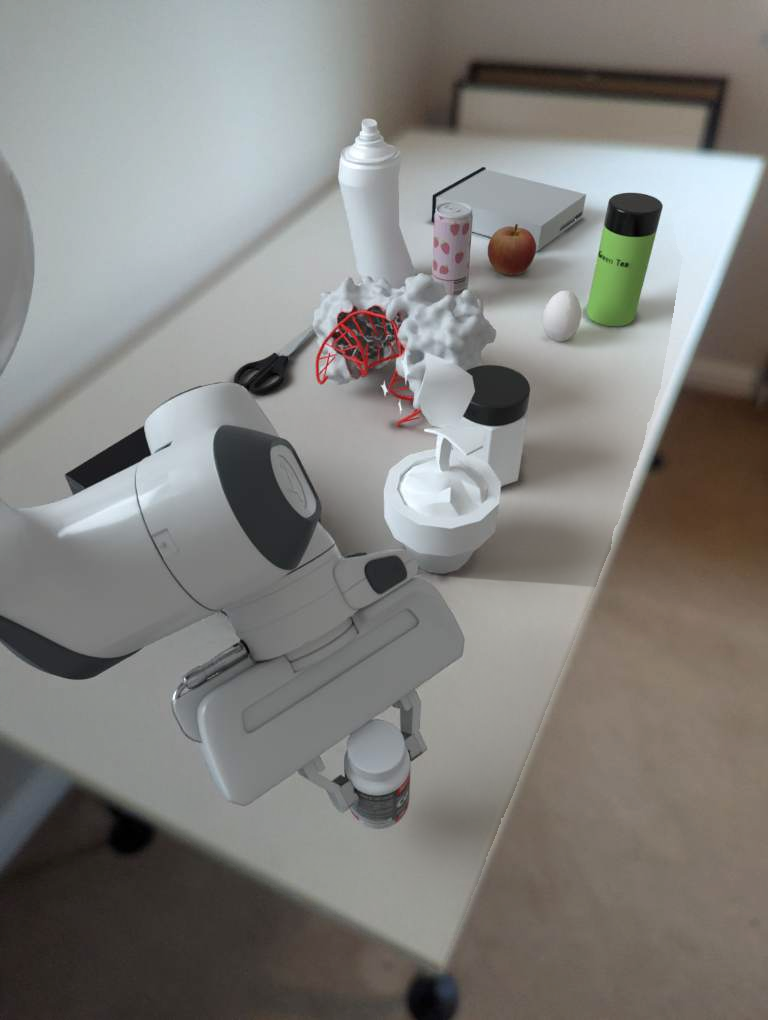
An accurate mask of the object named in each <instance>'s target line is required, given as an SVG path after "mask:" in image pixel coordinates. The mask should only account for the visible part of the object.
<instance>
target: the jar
mask: <svg viewBox="0 0 768 1020" xmlns="http://www.w3.org/2000/svg"><path fill="white" fill-rule="evenodd" d="M466 372H467V373H469V374H470V375H472V378H473V383H474V389H475V393H474V395H473V397H472V399H471V401H470V403H469V405H468V407H467V409H466V411H465V413H464V415H463V416H462V418H461V420H460V422H459V423H458V425H455V426H452V427H482V428H483V430H484V432H485V440H484V444H483V448H481V449H479V450H477V451H476V452H474V453H472V454H470V455H472V456H474V457H476V458H478V459H480V460H482V461H484V462H486V463H488V464H489V466H490V467H491V468H492V470H493V471H494V473H495V474H496V476H497V477H498V479H499V480H500V482H501V487H504V486H506V485H509V484H512V483H515V482H517V481H518V480H519V477H520V476H519V475H520V469H521V463H522V456H523V449H524V444H525V437H526V431H527V425H528V408H529V402H530V397H531V385H530V382H529V380H528V379H527V378H526V377H525V376H524V375H523V374H522V373H520V372H519V371H517V370H515V369H513V368H510V367H507V366H503V365H498V364H497V365H495V364H485V365H484V364H482V366H477V367H473V368H471V369H468V370H466ZM451 450H455V451H460V450H459V449H458V448H456V447H455V446H454V445H453V444H452V447H451Z"/></svg>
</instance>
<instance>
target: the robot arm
mask: <svg viewBox="0 0 768 1020" xmlns="http://www.w3.org/2000/svg"><path fill="white" fill-rule="evenodd" d="M16 175H17V174H15V172H14V170H13V169H12V167H11V165H10V163H9V162H8V160H7V158H6V157H5V155H4V154H3V153H2V151H1V150H0V378H1V377H2V375H4V372H5V370H6V368H7V366H8V364H9V362H10V360H11V359H12V357H13V355H14V352H15V350H16V349H17V345H18V343H19V341H20V338H21V335H22V333H23V330H24V327H25V324H26V321H27V317H28V314H29V309H30V304H31V300H32V295H33V289H34V282H35V272H36V271H35V270H36V269H35V267H36V265H35V264H36V262H35V261H36V259H35V254H36V253H35V239H34V231H33V226H32V221H31V217H30V214H29V213H30V212H29V208H28V205H27V201H26V198H25V195H24V191H23V188H22V185H21V183H20V181H19V179H18V177H17V176H16ZM143 426H144V430H145V435H146V439H147V443H148V446H149V449H150V452H151V455H150V456H148V457H146V458H144V459H143V460H142V461H141V462H139V463H137V464H135V465H133V466H131V467H129V468H127V469H125V470H123V471H121V472H119V473H117V474H115V475H113V476H111V477H109V478H107V479H105V480H103V481H101V482H99V483H97V484H95V485H93V486H91V487H89V488H87V489H85V490H83V491H81V492H79V493H77V494H75V495H73V494H72V495H71V496H68V497H65V498H63V499H60V500H56V501H53V502H51V503H46V504H42V505H41V504H40V505H37V506H31V507H30V506H29V507H13V506H11V505H9V504H8V503H7V502H6V501H5V500H3V499H2V498H1V497H0V643H1V644H2V645H3V646H4V647H5V648H6V649H7V650H8V651H9V652H11V653H12V654H13V655H14V656H16V657H17V658H18V659H20V660H21V661H23V662H24V663H26V664H27V665H29V666H31V667H32V668H35V669H37V670H39V671H41V672H43V673H46V674H49V675H52V676H56V677H60V678H62V679H67V680H72V681H83V680H89V679H93V678H94V677H97V676H99V675H101V674H102V673H104V672H106V671H108V670H109V669H111V668H113V667H115V666H117V665H118V664H119V663H121V662H123V661H125V660H127V659H129V658H131V657H132V656H133V655H136V654H137V653H139V652H140V651H141V650H143V649H144V648H145V647H148V646H149V645H152V644H154V643H156V642H158V641H160V640H162V639H164V638H166V637H168V636H171V635H172V634H174V633H177V632H179V631H181V630H183V629H185V628H187V627H189V626H191V625H193V624H196V623H198V622H199V621H202V620H205V619H206V618H208V617H210V616H212V615H215V614H216V613H220V611H221V610H222V609H224V610H225V612H226V614H227V615H228V617H229V618H228V617H227V618H228V620H229V621H230V623H231V625H232V627H233V630H234V632H235V634H236V633H237V635H238V636H237V635H236V636H237V637H238V639H239V641H238V642H236V643H235V644H232V645H231V646H230V647H228V648H226V649H224V650H223V651H221V652H219V653H218V654H217V655H216V656H214V657H213V658H211V659H210V660H209V661H207V662H205V663H203V664H202V665H197V666H196V667H193V668H191V669H190V670H189V671H187V672H186V673H185V674H184V675H182V677H181V680H182V681H181V682H180V684H179V685H178V686H177V687H176V689H175V690H174V692H173V694H172V698H171V712H172V715H173V717H174V719H175V721H176V723H177V724H178V726H179V728H180V730H181V732H182V734H184V736H185V737H186V738H188V739H189V740H191V741H192V742H195V743H198V746H199V748H200V750H201V754H202V757H203V760H204V762H205V766H206V767H207V769H208V772H209V775H210V777H211V779H212V781H213V783H214V785H215V788H216V789H217V791H218V792H219V794H220V795H221V796H222V797H223V798H224V799H225V800H226V801H227V802H228V803H232V804H234V805H239V806H243V807H247V806H249V805H251V804H252V803H254V802H255V801H257V800H258V799H259V798H260V797H262V796H264V795H265V794H267V793H268V792H269V791H271V790H272V789H274V788H275V787H277V786H278V785H279V784H281V783H282V782H283V781H285V780H287V779H288V778H289V777H291V776H293V775H294V774H295V773H298V775H299V776H301V777H303V778H304V779H306V780H308V782H311V783H313V784H314V785H317V786H318V787H320V788H321V789H323V790H325V792H326V793H327V795H328V798H329V799H330V801H331V803H332V805H333V807H334V808H335V809H336V810H337V811H339V812H340V813H342V814H344V813H346V812H347V811H348V810H349V808H350V807H352V806H353V805H354V804H355V803H357V802H358V801H359V800H360V798H359V796H358V794H357V793H355V792H354V786H353V784H352V782H351V780H349V779H348V778H345V775H343V774H339V775H338V776H337V777H335V778H333V780H331V779H329V778H327V777H326V776H324V775H322V774H321V773H322V772H323V771H325V770H326V766H325V763H324V761H323V759H322V757H321V755H322V754H324V753H326V752H327V751H329V750H330V749H331V748H333V747H334V746H336V745H337V744H339V743H341V741H343V740H344V739H345V738H347V737H349V736H350V734H351V733H353V732H354V731H356V730H357V729H359V728H360V727H361V726H363V725H364V724H366V723H367V722H369V721H370V720H373V719H375V718H376V717H377V716H378V715H380V714H382V713H383V712H385V711H386V710H388V709H389V708H390V707H391V706H392V707H393V708H396V709H399V730H400V731H401V733H402V735H403V737H404V740H405V746H406V748H407V750H408V752H409V755H410V762H411V763H412V762H413V761H414V760H416V759H417V758H419V757H420V756H421V755H423V754H424V753H425V752H427V751H428V746H427V744H426V742H425V740H424V738H423V736H422V734H421V732H420V729H421V715H422V713H421V711H422V700H421V698H420V697H419V695H418V693H417V691H416V689H418V688H419V687H421V686H423V684H425V683H426V682H427V681H429V680H431V679H432V678H434V677H435V676H436V675H438V674H439V673H441V672H442V671H443V670H445V669H447V668H448V667H449V666H451V665H452V664H453V663H455V662H457V661H458V660H459V659H460V658H462V657H463V654H464V650H465V636H464V633H463V631H462V628H461V627H460V625H459V623H458V621H457V619H456V617H455V615H454V613H453V612H452V610H451V608H450V607H449V605H448V604H447V602H446V600H445V599H444V597H443V595H442V594H441V592H440V591H439V590H438V589H437V588H436V586H435V585H434V584H433V583H432V582H431V581H429V580H428V579H426V578H423V577H419V576H417V574H418V572H419V567H418V564H417V561H416V559H415V558H414V555H413V553H412V552H411V551H409V550H407V549H406V548H401V549H400V548H397V549H395V548H394V549H386V550H380V551H375V552H370V553H367V552H358V553H357V552H356V553H353V554H348V555H347V556H346V557H344V555H342V554H341V552H340V550H339V548H338V546H337V544H336V542H335V540H334V538H333V537H332V535H331V534H330V533H329V532H328V531H327V530H326V529H325V528H324V526H323V525H322V523H321V524H320V523H319V518H320V519H321V516H322V512H323V510H322V509H323V508H322V503H321V500H320V497H319V495H318V493H317V491H316V489H315V487H314V485H313V483H312V481H311V479H310V477H309V474H308V472H307V470H306V469H305V467H304V465H303V463H302V461H301V459H300V457H299V456H298V453H297V451H296V449H295V447H294V446H293V445H292V443H291V442H290V441H288V440H287V439H286V438H283V437H281V436H280V435H279V433H278V431H277V430H276V428H275V427H274V425H273V423H272V422H271V420H270V419H269V418H268V416H267V414H266V413H265V412H264V410H263V409H262V408H261V406H260V405H259V403H258V402H257V401H256V399H255V398H254V396H253V395H252V393H251V392H250V391H249V389H246V388H245V387H243V386H241V385H239V384H236V383H234V382H230V381H229V382H223V381H221V382H213V383H209V384H204V385H198V386H195V387H192V388H189V389H186V390H185V391H182V392H179V393H178V394H176V395H174V396H172V397H170V398H168V399H167V400H165V401H163V402H162V403H161V404H159V406H157V407H156V408H155V409H153V411H151V413H150V414H149V415H148V417H147V418H146V420H145V422H144V425H143ZM185 689H187V691H185V692H184V693H182V692H183V691H184V690H185Z"/></svg>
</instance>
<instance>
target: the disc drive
mask: <svg viewBox="0 0 768 1020" xmlns="http://www.w3.org/2000/svg"><path fill="white" fill-rule="evenodd" d="M586 198H587V194H586V193H583V192H579V191H575V190H571V189H568V188H563V187H559V186H555V185H550V184H547V183H544V182H543V183H542V182H538V181H535V180H530V179H526V178H522V177H518V176H515V175H510V174H506V173H503V172H498V171H494V170H490V169H486V167H485V166H482V167H479V169H477V170H475V171H472V172H471V173H470V174H467V175H465V176H463V177H462V178H461V179H459V180H457V181H455V182H453V183H451V184H449V185H448V186H446V187H445V188H443V189H441V190H439V191H438V192H436V193H434V194H432V199H431V201H432V203H431V204H432V205H431V223H434V214H435V212H436V211H435V210H436V208H437V206H438V205H440V204H442V203H445V202H462V203H465V204H467V205H469V206H470V207H471V208H472V214H473V221H472V233H475V234H479V235H483V236H486V237H488V238H491V237H492V236H493V234H494V233H495V232H496V231H497V230H499V229H500V228H503V227H507V226H509V227H515V224H518V226H517V227H518V228H523V229H526V230H528V231H529V232H530V233H531V234H532V236H533V237H534V239H535V242H536V252H539V251H540V250H541V249H543V248H544V247H545V246H546V245H548V244H550V243H551V242H552V241H553V240H555V239H556V238H557V237H559V236H560V235H562V234H563V233H564V232H565V231H567V230H569V229H570V228H571V227H572V226H574V225H575V224H576V223H577V222H579V221H580V220H582V219H583V214H584V209H585V204H586ZM575 219H576V220H575Z"/></svg>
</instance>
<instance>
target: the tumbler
mask: <svg viewBox="0 0 768 1020" xmlns="http://www.w3.org/2000/svg"><path fill="white" fill-rule="evenodd" d="M663 207H664V205H663V202H662V201H661V200H660V199H658V198H657V197H655V196H653V195H649V194H646V193H640V192H622V193H617V194H615V195H612V196H611V197H610V198H609V199H608V202H607V207H606V213H605V217H604V221H603V227H602V233H601V237H600V243H599V247H598V252H597V257H596V261H595V262H596V263H595V267H594V272H593V278H592V282H591V287H590V291H589V298H588V301H587V306H586V316H587V317H588V319H590V320H591V321H593V322H594V323H596V324H598V325H602V326H604V327H605V326H606V327H613V328H614V327H616V328H617V327H624V326H627V325H629V324H631V323H632V322H633V321H634V320H635V318H636V314H637V310H638V307H639V302H640V298H641V295H642V290H643V287H644V282H645V278H646V274H647V270H648V267H649V263H650V260H651V254H652V250H653V247H654V244H655V240H656V235H657V231H658V228H659V223H660V220H661V217H662V212H663Z"/></svg>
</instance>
